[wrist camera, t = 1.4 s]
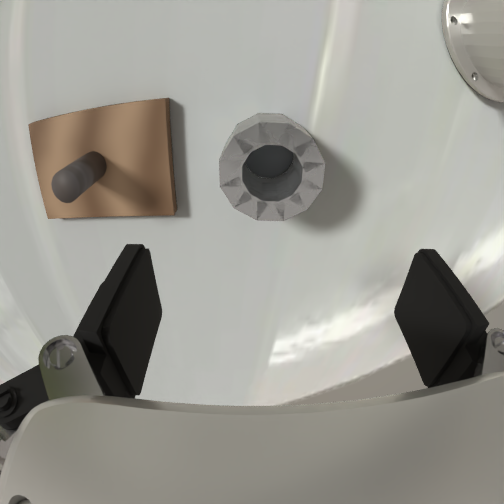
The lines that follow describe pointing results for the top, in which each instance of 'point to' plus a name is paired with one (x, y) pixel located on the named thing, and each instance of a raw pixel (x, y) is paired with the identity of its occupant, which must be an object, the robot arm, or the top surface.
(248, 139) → the steel ring
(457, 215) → the top surface
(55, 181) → the post block
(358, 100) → the top surface
